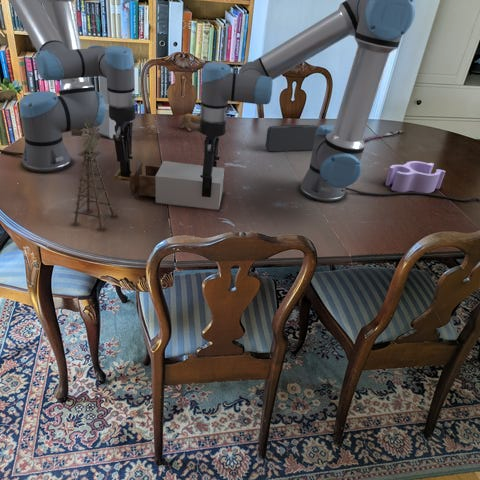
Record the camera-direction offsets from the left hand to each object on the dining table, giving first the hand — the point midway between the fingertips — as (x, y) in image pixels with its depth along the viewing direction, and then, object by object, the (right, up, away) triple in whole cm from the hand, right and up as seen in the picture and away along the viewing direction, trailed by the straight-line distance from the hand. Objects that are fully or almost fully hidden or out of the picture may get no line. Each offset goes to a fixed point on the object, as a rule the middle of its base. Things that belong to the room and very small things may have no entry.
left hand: (125, 179), depth 147 cm
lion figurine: (+17, +29, +55) cm, 64 cm away
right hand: (+26, -3, -1) cm, 26 cm away
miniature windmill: (-5, -14, -14) cm, 20 cm away
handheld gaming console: (+57, +18, +45) cm, 75 cm away
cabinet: (+20, -6, +2) cm, 21 cm away
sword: (+101, +28, +68) cm, 125 cm away
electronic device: (-15, +24, +42) cm, 51 cm away
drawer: (+9, -4, +2) cm, 10 cm away
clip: (+99, +1, +25) cm, 102 cm away
